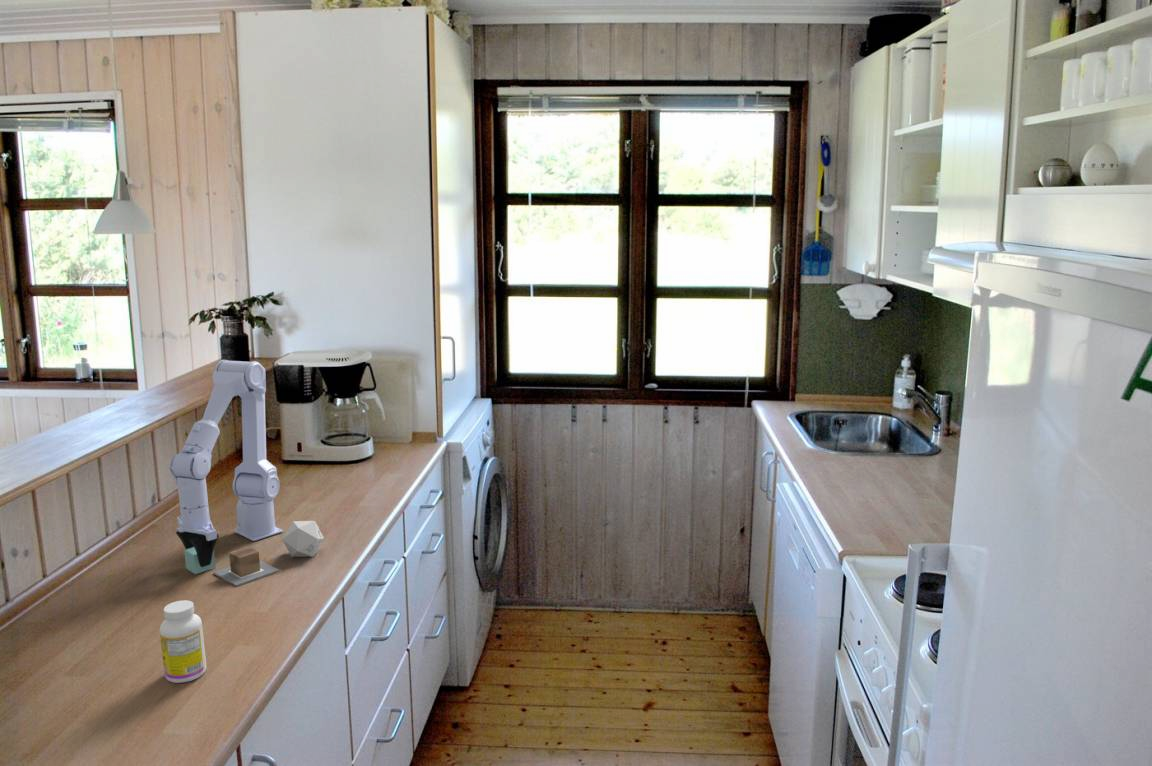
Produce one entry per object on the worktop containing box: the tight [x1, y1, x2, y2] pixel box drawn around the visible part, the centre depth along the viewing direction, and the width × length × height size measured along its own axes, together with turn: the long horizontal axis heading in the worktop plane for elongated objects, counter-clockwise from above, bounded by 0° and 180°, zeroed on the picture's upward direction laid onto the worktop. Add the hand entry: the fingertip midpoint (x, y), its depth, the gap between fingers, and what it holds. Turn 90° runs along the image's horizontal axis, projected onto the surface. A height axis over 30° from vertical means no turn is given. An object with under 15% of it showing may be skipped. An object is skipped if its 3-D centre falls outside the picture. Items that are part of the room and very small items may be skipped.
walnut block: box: [228, 545, 261, 577], centre depth 188 cm, size 4×4×4 cm
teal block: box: [184, 547, 216, 575], centre depth 191 cm, size 4×4×4 cm
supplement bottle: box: [159, 599, 207, 684], centre depth 147 cm, size 7×7×13 cm
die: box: [282, 520, 325, 558], centre depth 198 cm, size 8×9×10 cm
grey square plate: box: [213, 559, 280, 587], centre depth 189 cm, size 10×10×1 cm
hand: (200, 562), depth 191 cm, fingers closed on teal block, 4 cm apart
